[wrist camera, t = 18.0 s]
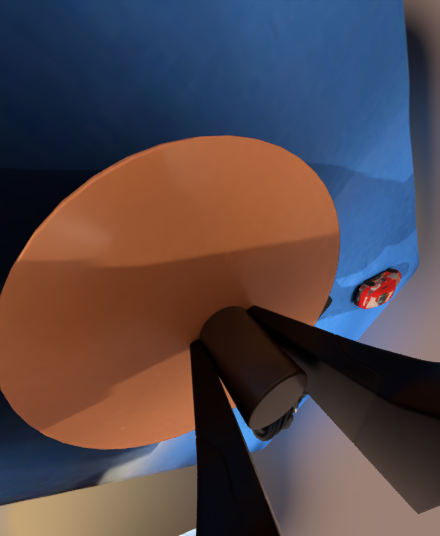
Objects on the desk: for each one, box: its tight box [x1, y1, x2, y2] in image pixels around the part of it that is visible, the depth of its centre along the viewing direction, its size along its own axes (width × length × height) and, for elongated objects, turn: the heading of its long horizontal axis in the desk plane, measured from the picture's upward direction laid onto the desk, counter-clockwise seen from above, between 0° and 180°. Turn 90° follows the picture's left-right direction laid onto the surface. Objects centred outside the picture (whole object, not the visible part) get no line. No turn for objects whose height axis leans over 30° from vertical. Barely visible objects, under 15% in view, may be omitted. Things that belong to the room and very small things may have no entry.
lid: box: [0, 135, 340, 449], centre depth 8 cm, size 14×14×5 cm
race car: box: [354, 269, 401, 309], centre depth 44 cm, size 13×5×4 cm, turn 92°
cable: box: [252, 390, 308, 441], centre depth 46 cm, size 17×14×4 cm
